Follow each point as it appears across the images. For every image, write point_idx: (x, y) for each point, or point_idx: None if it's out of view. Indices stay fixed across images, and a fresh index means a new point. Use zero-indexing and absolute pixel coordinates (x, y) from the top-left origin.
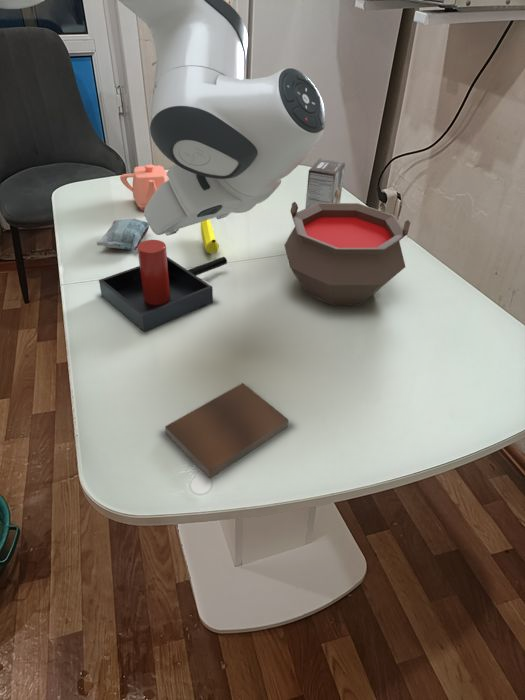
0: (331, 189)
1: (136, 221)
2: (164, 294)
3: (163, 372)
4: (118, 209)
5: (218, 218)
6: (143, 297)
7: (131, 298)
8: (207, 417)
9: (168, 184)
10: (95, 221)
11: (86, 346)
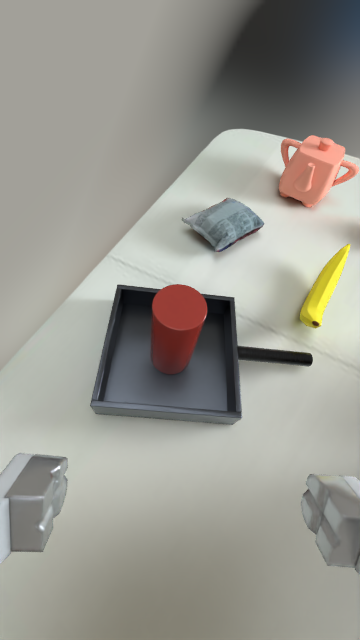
0: None
1: (247, 214)
2: (172, 368)
3: None
4: (257, 180)
5: (304, 515)
6: None
7: (142, 331)
8: None
9: None
10: (221, 184)
11: (13, 383)
